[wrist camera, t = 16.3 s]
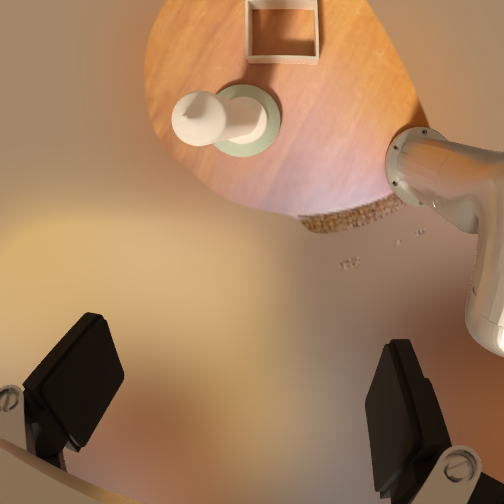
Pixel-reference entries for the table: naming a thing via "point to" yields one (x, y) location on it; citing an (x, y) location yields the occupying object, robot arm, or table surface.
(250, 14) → the tray
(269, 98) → the pale green dome
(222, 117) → the candle
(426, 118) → the table surface
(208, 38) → the table surface
